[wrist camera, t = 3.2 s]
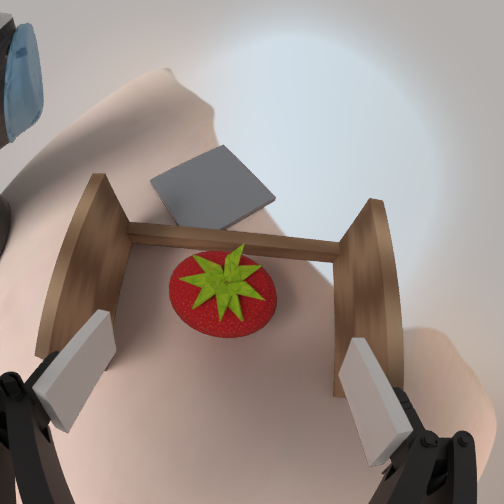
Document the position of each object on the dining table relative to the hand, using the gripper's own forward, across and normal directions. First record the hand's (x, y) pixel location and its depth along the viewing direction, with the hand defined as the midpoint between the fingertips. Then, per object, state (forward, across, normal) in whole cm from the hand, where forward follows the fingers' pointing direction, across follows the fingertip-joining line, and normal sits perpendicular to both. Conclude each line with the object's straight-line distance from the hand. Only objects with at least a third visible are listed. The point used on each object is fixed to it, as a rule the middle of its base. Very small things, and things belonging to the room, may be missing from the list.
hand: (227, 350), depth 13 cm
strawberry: (+9, -1, -3) cm, 10 cm away
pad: (+18, -4, +6) cm, 20 cm away
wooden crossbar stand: (+9, -1, -3) cm, 10 cm away
